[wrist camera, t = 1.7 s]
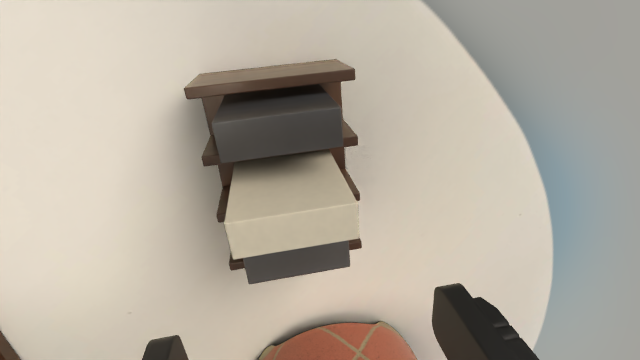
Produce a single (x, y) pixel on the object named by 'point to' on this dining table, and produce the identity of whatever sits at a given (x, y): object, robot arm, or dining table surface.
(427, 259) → the dining table surface
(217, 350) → the dining table surface
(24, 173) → the dining table surface
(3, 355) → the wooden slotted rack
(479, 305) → the robot arm
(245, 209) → the white box
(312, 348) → the planter
